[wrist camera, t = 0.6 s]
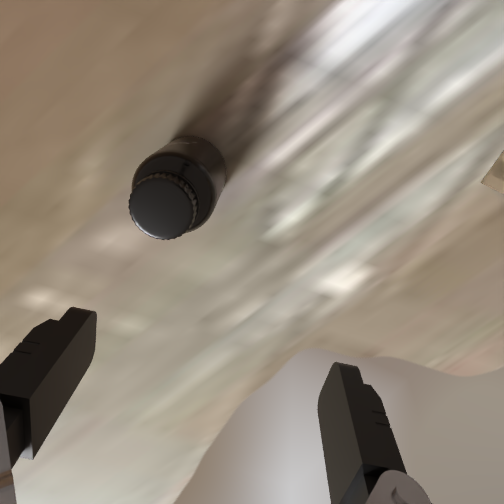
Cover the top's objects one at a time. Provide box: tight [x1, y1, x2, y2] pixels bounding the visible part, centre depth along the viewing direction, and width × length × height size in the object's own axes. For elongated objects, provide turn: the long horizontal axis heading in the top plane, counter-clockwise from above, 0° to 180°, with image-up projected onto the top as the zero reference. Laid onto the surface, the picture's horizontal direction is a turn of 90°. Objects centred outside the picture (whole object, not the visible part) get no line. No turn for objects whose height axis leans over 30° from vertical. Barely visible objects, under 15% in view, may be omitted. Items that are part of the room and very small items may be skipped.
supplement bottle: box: [129, 136, 226, 240], centre depth 31 cm, size 7×7×12 cm
